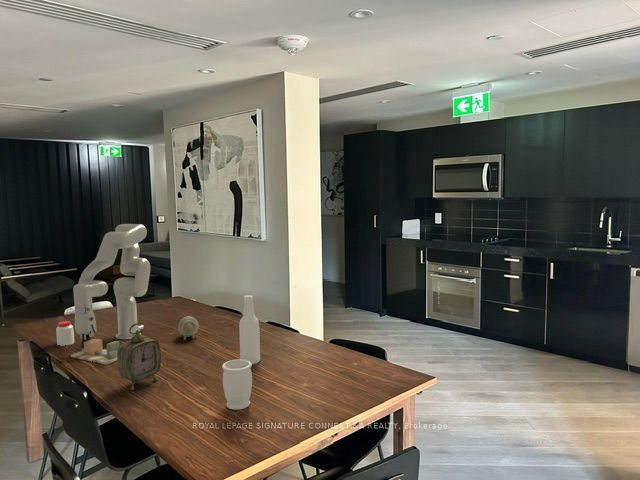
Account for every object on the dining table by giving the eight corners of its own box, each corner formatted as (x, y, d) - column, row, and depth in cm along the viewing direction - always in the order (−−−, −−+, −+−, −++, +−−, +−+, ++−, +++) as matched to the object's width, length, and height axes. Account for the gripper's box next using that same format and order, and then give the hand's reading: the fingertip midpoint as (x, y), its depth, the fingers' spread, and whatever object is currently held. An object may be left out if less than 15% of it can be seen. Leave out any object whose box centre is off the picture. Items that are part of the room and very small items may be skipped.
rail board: (70, 356, 219) (69, 340, 218) (93, 349, 229) (92, 333, 229) (105, 364, 208) (104, 347, 207) (127, 356, 219) (126, 339, 218)
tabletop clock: (131, 393, 178) (127, 329, 175) (116, 388, 182) (112, 326, 180) (162, 380, 190) (158, 320, 187) (147, 375, 195) (144, 317, 192)
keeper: (84, 353, 219) (83, 342, 218) (95, 349, 224) (95, 338, 224) (91, 355, 217) (90, 343, 216) (102, 351, 222) (102, 339, 221)
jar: (225, 399, 172) (224, 359, 170) (253, 397, 172) (252, 358, 171) (221, 412, 161) (220, 370, 159) (252, 410, 162) (250, 369, 160)
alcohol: (252, 356, 215) (250, 293, 212) (264, 361, 209) (262, 295, 206) (236, 361, 209) (234, 296, 206) (248, 366, 203) (246, 299, 200)
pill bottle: (66, 346, 234) (65, 324, 233) (53, 345, 236) (52, 324, 235) (77, 341, 242) (76, 320, 241) (64, 340, 243) (63, 320, 242)
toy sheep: (180, 343, 237) (179, 321, 236) (176, 333, 252) (175, 313, 251) (201, 340, 241) (200, 319, 240) (196, 331, 256) (195, 311, 255)
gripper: (101, 309, 220) (103, 347, 222) (80, 306, 227) (83, 342, 229) (86, 313, 214) (89, 352, 216) (66, 309, 221) (69, 347, 223)
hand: (86, 347), depth 222 cm, fingers closed
